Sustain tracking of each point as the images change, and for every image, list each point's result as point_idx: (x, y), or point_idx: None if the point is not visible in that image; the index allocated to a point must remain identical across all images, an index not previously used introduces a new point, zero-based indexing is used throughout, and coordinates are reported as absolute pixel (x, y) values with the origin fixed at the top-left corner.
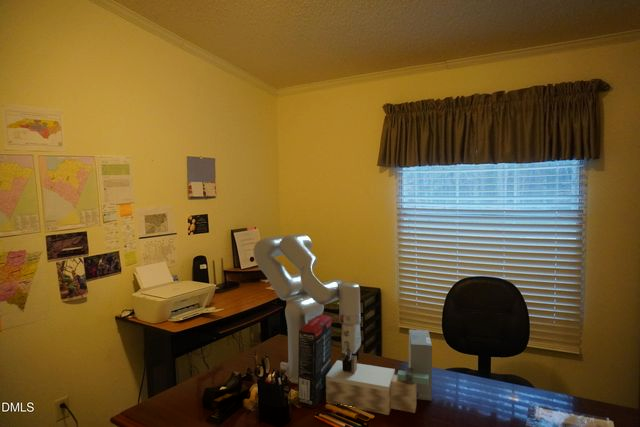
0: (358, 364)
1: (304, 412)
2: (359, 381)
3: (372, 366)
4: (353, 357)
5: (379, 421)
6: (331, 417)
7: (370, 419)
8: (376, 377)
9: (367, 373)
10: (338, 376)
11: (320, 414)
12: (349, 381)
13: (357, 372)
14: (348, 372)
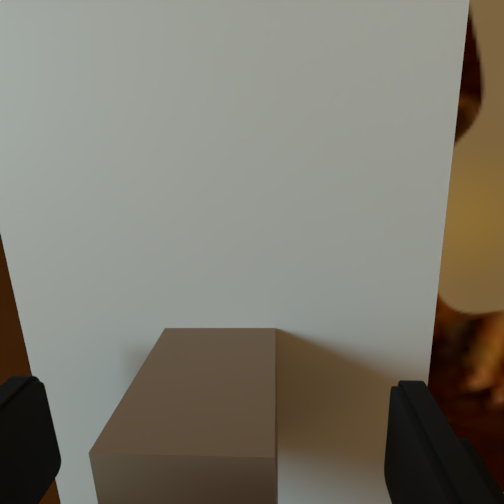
0: (47, 339)
1: (481, 456)
2: (435, 229)
3: (8, 175)
4: (175, 489)
5: (471, 17)
6: (496, 319)
7: (462, 87)
8: (266, 43)
9: (207, 188)
10: (384, 454)
11: (480, 380)
12: (426, 332)
13: (229, 304)
14: (277, 390)
